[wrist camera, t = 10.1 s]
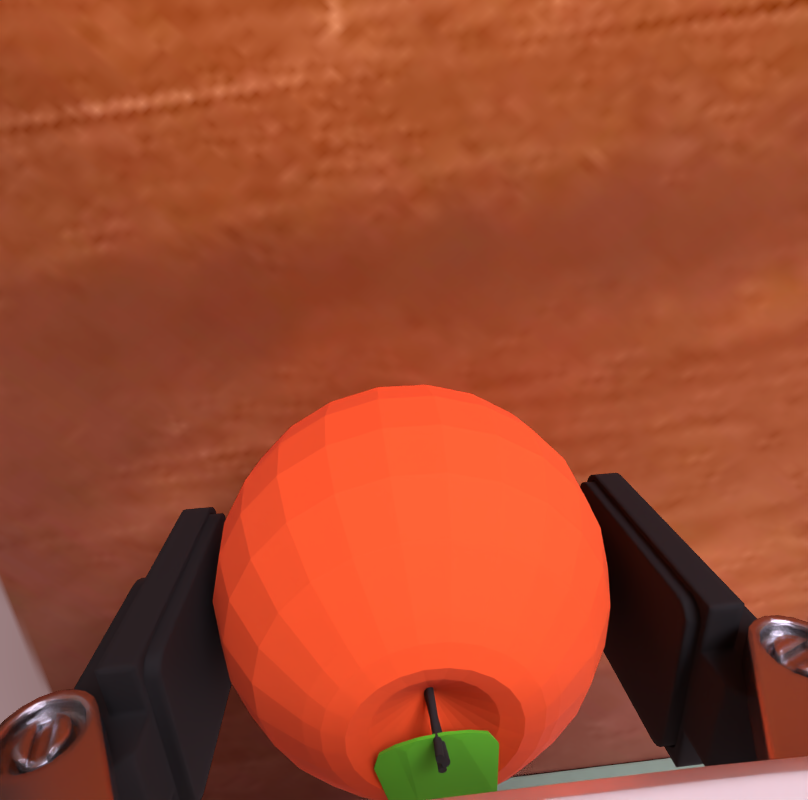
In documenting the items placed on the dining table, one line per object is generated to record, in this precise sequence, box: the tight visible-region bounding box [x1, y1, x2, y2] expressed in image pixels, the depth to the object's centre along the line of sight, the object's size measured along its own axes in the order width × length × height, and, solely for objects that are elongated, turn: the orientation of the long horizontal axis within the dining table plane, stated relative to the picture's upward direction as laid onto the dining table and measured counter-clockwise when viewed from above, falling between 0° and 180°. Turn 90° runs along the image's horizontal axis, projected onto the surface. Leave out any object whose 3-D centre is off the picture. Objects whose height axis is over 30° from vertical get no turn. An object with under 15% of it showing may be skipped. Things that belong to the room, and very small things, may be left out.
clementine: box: [213, 385, 610, 800], centre depth 10 cm, size 8×7×7 cm
